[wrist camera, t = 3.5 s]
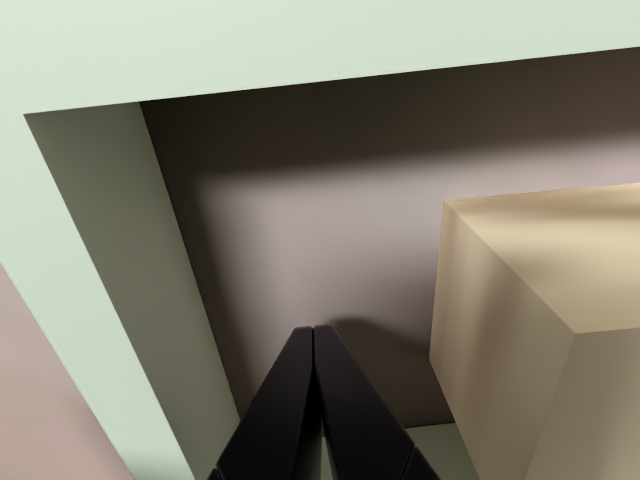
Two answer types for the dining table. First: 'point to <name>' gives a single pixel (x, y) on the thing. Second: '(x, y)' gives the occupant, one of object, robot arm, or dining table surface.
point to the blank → (542, 332)
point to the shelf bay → (150, 191)
